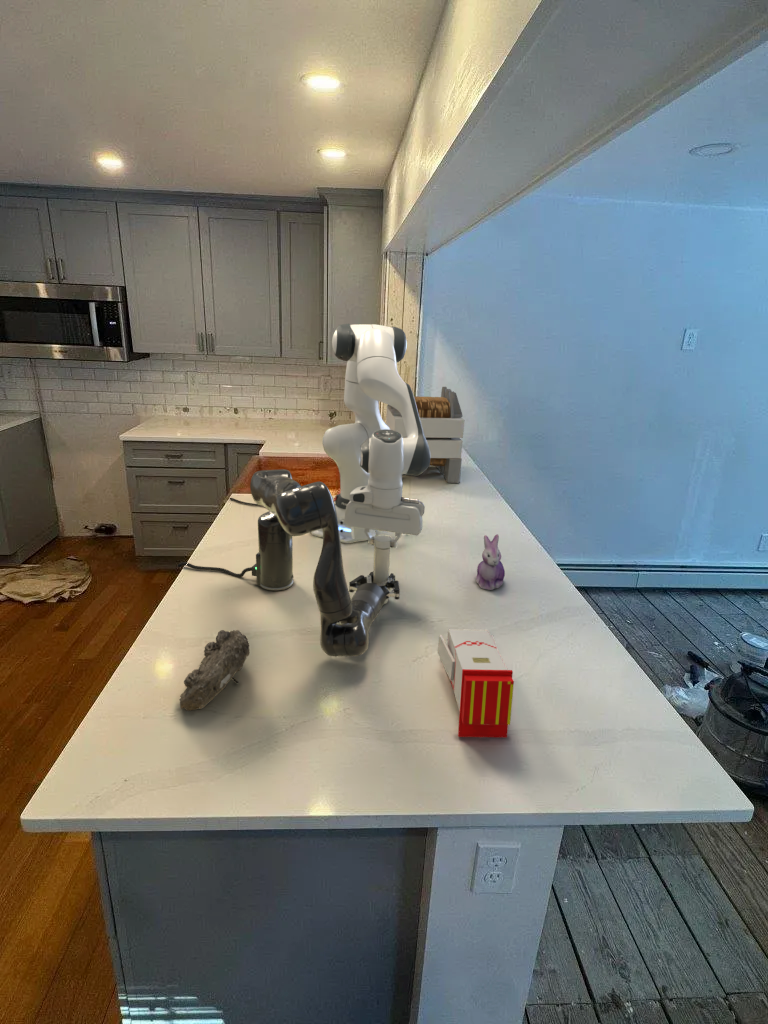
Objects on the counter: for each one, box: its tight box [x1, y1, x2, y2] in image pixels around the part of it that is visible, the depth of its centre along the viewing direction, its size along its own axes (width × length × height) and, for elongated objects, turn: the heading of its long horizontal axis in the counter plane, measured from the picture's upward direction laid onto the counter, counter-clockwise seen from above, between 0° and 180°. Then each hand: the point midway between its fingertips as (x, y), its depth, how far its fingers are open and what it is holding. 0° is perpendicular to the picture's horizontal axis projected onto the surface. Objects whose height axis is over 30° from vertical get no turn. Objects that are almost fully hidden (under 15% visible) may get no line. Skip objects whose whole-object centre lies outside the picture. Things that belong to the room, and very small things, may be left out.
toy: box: [437, 628, 515, 738], centre depth 117 cm, size 12×13×30 cm
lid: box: [373, 534, 393, 548], centre depth 148 cm, size 5×5×2 cm
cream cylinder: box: [372, 545, 391, 605], centre depth 151 cm, size 4×4×18 cm
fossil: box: [179, 629, 250, 712], centre depth 117 cm, size 22×10×15 cm
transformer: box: [385, 386, 465, 484], centre depth 268 cm, size 34×33×41 cm
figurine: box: [475, 534, 506, 591], centre depth 164 cm, size 9×10×15 cm
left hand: (383, 575), depth 154 cm, fingers closed on cream cylinder, 4 cm apart
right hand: (382, 545), depth 148 cm, fingers closed on lid, 4 cm apart
